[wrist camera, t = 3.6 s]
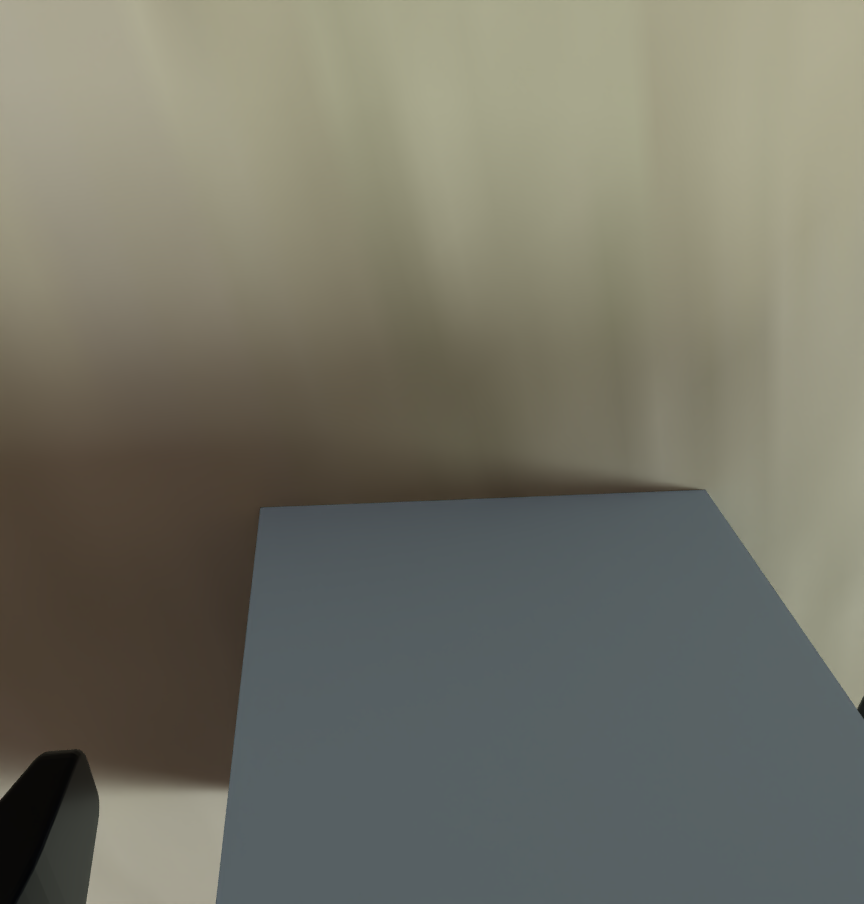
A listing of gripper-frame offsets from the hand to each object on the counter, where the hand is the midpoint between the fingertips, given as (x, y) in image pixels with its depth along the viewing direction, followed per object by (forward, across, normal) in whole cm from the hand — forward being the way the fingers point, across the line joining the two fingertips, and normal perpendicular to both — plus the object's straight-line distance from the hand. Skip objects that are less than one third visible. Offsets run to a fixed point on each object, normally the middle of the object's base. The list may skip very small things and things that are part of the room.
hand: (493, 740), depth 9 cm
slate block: (+1, 0, 0) cm, 1 cm away
